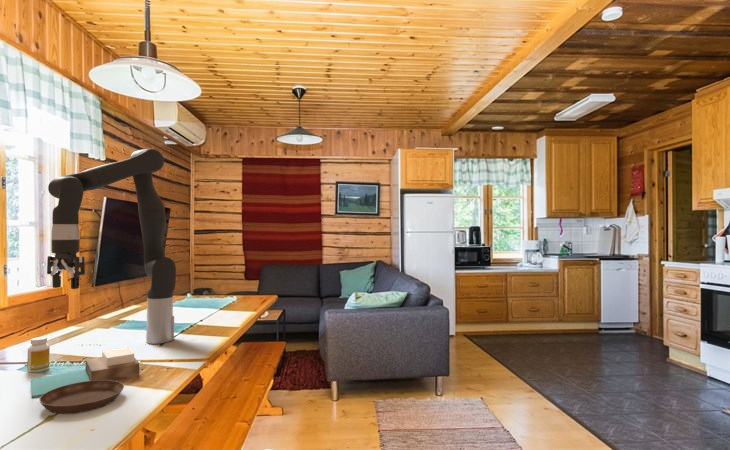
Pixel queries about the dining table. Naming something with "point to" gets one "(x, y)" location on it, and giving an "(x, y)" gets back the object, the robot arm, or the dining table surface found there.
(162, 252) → the robot arm
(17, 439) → the dining table surface
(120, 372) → the bronze rectangular block
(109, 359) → the white block
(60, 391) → the plant saucer
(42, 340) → the supplement bottle
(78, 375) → the mat
